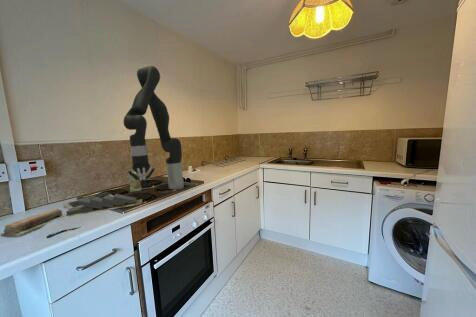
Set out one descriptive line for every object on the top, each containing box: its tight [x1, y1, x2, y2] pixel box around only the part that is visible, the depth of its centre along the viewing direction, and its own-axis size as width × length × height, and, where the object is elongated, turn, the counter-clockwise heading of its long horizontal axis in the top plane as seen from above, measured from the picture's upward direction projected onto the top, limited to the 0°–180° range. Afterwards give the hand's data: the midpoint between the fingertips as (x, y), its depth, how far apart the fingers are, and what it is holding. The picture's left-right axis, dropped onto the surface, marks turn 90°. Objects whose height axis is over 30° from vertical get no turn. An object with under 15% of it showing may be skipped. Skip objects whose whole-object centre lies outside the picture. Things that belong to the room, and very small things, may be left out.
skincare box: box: [127, 171, 143, 193], centre depth 126 cm, size 6×4×12 cm
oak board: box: [68, 198, 143, 217], centre depth 96 cm, size 30×8×1 cm, turn 112°
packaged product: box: [0, 208, 67, 238], centre depth 82 cm, size 18×5×10 cm
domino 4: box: [102, 195, 126, 206], centre depth 97 cm, size 2×5×10 cm
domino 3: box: [90, 197, 115, 208], centre depth 95 cm, size 2×5×10 cm
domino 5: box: [113, 193, 137, 204], centre depth 99 cm, size 2×5×10 cm
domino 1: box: [66, 206, 95, 217], centre depth 92 cm, size 2×5×10 cm
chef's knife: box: [46, 226, 81, 239], centre depth 78 cm, size 19×1×3 cm
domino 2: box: [78, 197, 104, 209], centre depth 93 cm, size 2×5×10 cm
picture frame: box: [63, 191, 114, 210], centre depth 108 cm, size 16×3×21 cm
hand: (144, 186), depth 102 cm, fingers closed
